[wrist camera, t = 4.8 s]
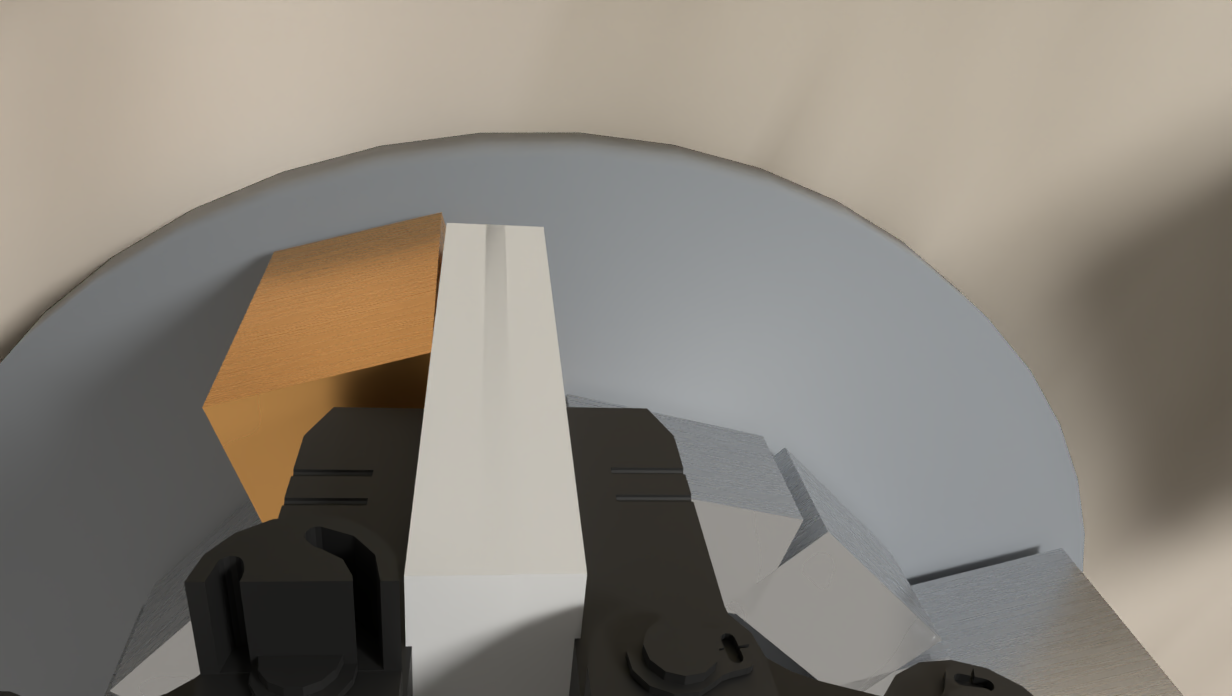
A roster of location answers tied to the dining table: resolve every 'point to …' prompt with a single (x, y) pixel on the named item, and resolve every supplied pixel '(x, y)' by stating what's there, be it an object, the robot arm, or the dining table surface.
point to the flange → (589, 354)
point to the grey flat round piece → (713, 464)
